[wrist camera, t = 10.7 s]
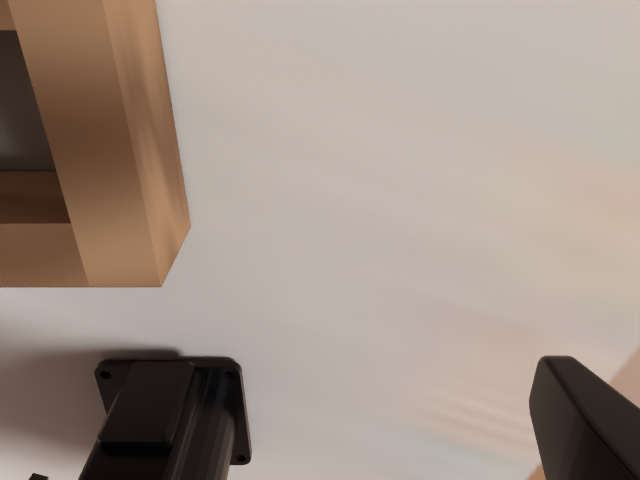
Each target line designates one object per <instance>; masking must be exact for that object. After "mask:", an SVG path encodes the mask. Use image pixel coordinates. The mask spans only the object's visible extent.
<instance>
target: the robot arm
mask: <svg viewBox="0 0 640 480" xmlns="http://www.w3.org/2000/svg"><path fill="white" fill-rule="evenodd" d="M106 371H108V372H106ZM226 371H230V372H232V373H228V372H226ZM109 372H110V373H109ZM95 378H96V381H97V384H98V387H99V391H100V394H101V397H102V400H103V403H104V407H105V410H106V413H107V417H106V419H105V421H104V423H103V425H102V427H101V429H100V431H99V433H98V437H97V440H96V442H95V444H94V447H93V449H92V451H91V453H90V455H89V457H88V459H87V461H86V464H85V466H84V468H83V470H82V472H81V474H80V476H79V478H78V480H227V475H228V470H229V466H230V465H246V464H248V463H249V462H250V460H251V454H252V448H251V440H250V432H249V424H248V416H247V408H246V400H245V392H244V384H243V376H242V369H241V366H240V365H239V364H238V363H236V362H234V361H201V360H104V361H101V362H100V363H99V364H98V366H97V368H96V370H95ZM529 408H530V415H531V419H532V423H533V427H534V432H535V436H536V440H537V444H538V449H539V453H540V457H541V461H542V465H543V470H544V474H545V478H546V480H640V408H638V407H637V406H636V405H635V404H633V403H632V402H631V401H629V400H628V399H627V398H625V397H624V396H623V395H622V394H620V393H619V392H618V391H616V390H615V389H614V388H612V387H611V386H610V385H609V384H607V383H606V382H605V381H603V380H602V379H601V378H600V377H598V376H597V375H596V374H594V373H593V372H592V371H590V370H589V369H588V368H587V367H585V366H584V365H583V364H581V363H580V362H579V361H577V360H576V359H574V358H573V357H571V356H543V357H541V358H540V360H539V362H538V364H537V368H536V372H535V376H534V381H533V385H532V389H531V393H530V398H529ZM29 480H48V477H47V476H43V475H39V474H35V473H33V474H32V475H31V477H30V478H29Z"/></svg>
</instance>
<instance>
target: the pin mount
mask: <svg viewBox="0 0 640 480" xmlns="http://www.w3.org/2000/svg"><path fill="white" fill-rule="evenodd" d="M0 30H16V31H17V35H18V38H19V42H20V45H21V49H22V52H23V56H24V59H25V63H26V66H27V70H28V73H29V77H30V80H31V84H32V87H33V91H34V94H35V98H36V101H37V105H38V108H39V112H40V115H41V119H42V122H43V126H44V129H45V133H46V136H47V140H48V144H49V147H50V151H51V154H52V158H53V161H54V165H55V168H56V171H23V172H0V287H162V285H163V283H164V281H165V279H166V277H167V275H168V272H169V270H170V268H171V266H172V264H173V262H174V260H175V258H176V256H177V254H178V252H179V250H180V248H181V246H182V244H183V242H184V240H185V238H186V236H187V234H188V232H189V230H190V228H191V223H190V217H189V211H188V204H187V198H186V192H185V186H184V179H183V173H182V167H181V161H180V154H179V148H178V142H177V136H176V129H175V123H174V117H173V110H172V104H171V98H170V92H169V85H168V79H167V73H166V67H165V60H164V54H163V48H162V42H161V35H160V29H159V23H158V16H157V10H156V4H155V0H0Z"/></svg>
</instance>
